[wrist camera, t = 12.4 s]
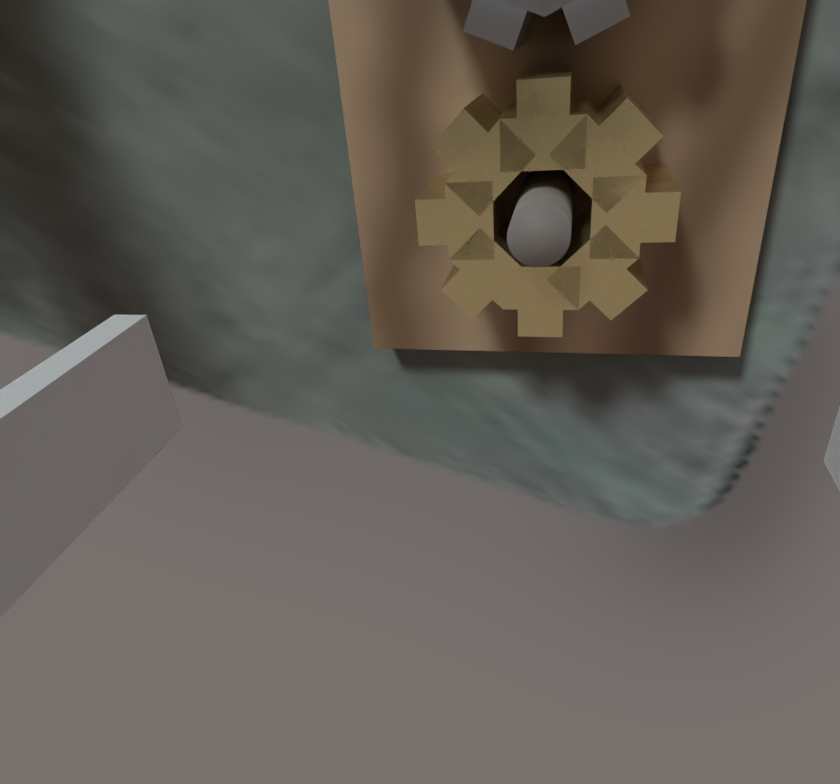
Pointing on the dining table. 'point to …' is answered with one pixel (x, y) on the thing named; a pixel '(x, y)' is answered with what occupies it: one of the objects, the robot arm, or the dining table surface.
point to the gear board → (660, 71)
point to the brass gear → (537, 151)
